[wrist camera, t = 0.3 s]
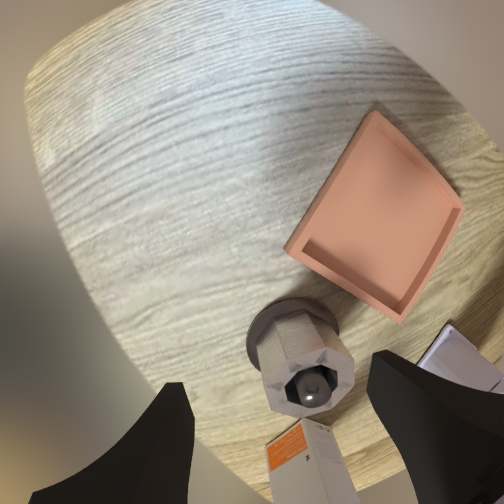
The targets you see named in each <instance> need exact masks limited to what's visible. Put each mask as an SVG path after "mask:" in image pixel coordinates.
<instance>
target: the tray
mask: <svg viewBox="0 0 504 504" xmlns="http://www.w3.org/2000/svg"><path fill="white" fill-rule="evenodd" d="M466 208H467V207H466V206H465V204H464V203H463V202H462V200H461V199H460V198H459V196H458V195H457V194H456V193H455V191H454V190H453V189H452V188H451V186H450V185H449V184H448V183H447V181H446V180H445V179H444V178H443V177H442V175H441V174H440V173H439V172H438V171H437V170H436V169H435V167H434V166H433V165H432V164H431V163H430V162H429V161H428V160H427V159H426V157H425V156H424V155H423V154H422V153H421V152H420V151H419V150H418V149H417V148H416V147H415V146H414V145H413V144H412V143H411V142H410V141H409V140H408V139H407V138H406V137H405V136H404V135H403V134H402V133H401V132H400V131H399V130H398V129H397V128H396V127H395V126H393V125H392V124H391V123H390V122H389V121H388V120H387V119H386V118H385V117H383V116H382V115H381V114H380V113H379V112H378V111H377V110H375V111H373V112H371V113H368V114H366V115H365V117H364V118H363V120H362V122H361V124H360V125H359V127H358V129H357V130H356V132H355V134H354V135H353V137H352V139H351V140H350V142H349V144H348V145H347V147H346V149H345V150H344V152H343V154H342V155H341V157H340V158H339V160H338V162H337V163H336V165H335V167H334V168H333V170H332V172H331V173H330V175H329V176H328V178H327V180H326V181H325V183H324V184H323V186H322V188H321V189H320V191H319V193H318V194H317V196H316V197H315V199H314V201H313V202H312V204H311V205H310V207H309V208H308V210H307V212H306V213H305V215H304V216H303V218H302V220H301V221H300V223H299V224H298V226H297V227H296V229H295V231H294V232H293V234H292V235H291V237H290V238H289V240H288V241H287V243H286V245H285V246H284V248H283V249H284V251H285V252H286V253H287V254H288V255H289V256H291V257H293V258H294V259H296V260H298V261H299V262H301V263H303V264H304V265H306V266H307V267H309V268H311V269H312V270H314V271H316V272H317V273H319V274H320V275H322V276H324V277H325V278H327V279H329V280H330V281H332V282H333V283H335V284H337V285H338V286H340V287H341V288H343V289H345V290H346V291H348V292H349V293H351V294H353V295H354V296H356V297H357V298H359V299H361V300H362V301H364V302H365V303H367V304H368V305H370V306H372V307H373V308H375V309H376V310H378V311H379V312H381V313H383V314H384V315H386V316H387V317H389V318H390V319H392V320H394V321H395V322H397V323H398V324H401V323H402V321H403V320H404V318H405V317H406V315H407V314H408V313H409V311H410V310H411V308H412V307H413V305H414V304H415V302H416V301H417V299H418V297H419V296H420V294H421V293H422V291H423V290H424V288H425V286H426V285H427V283H428V281H429V280H430V278H431V276H432V275H433V273H434V271H435V269H436V268H437V266H438V264H439V262H440V261H441V259H442V257H443V255H444V253H445V251H446V249H447V248H448V246H449V244H450V242H451V240H452V238H453V236H454V234H455V232H456V230H457V228H458V225H459V223H460V221H461V219H462V217H463V215H464V212H465V210H466Z"/></svg>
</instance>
